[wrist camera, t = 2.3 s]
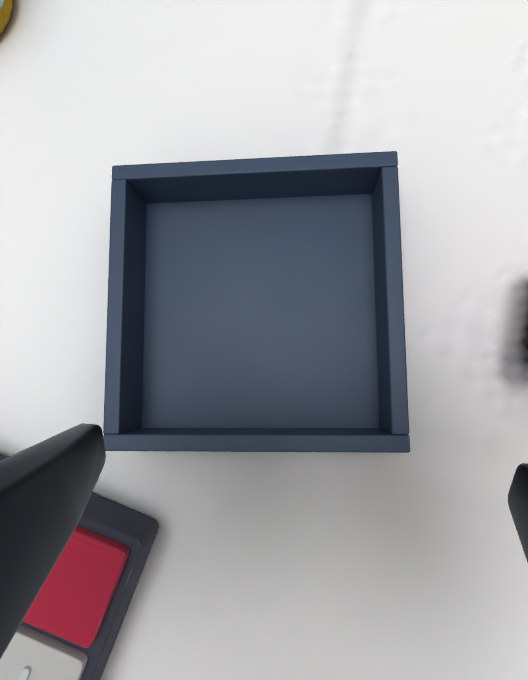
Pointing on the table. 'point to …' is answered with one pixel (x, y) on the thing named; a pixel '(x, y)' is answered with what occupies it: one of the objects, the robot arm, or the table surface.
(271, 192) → the tray
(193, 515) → the table surface
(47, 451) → the robot arm
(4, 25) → the bottle
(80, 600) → the calculator
